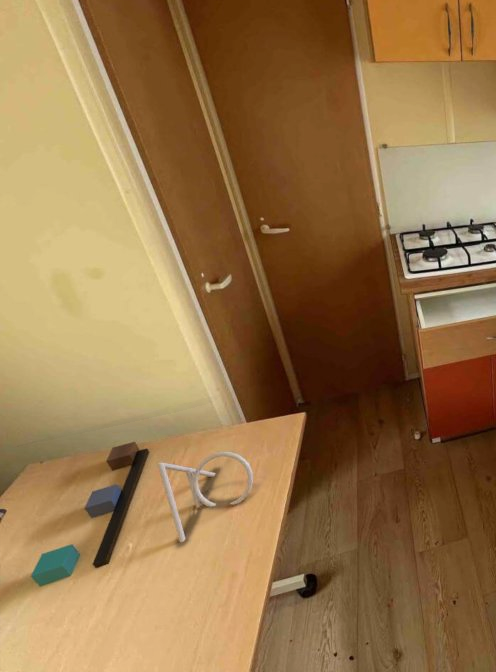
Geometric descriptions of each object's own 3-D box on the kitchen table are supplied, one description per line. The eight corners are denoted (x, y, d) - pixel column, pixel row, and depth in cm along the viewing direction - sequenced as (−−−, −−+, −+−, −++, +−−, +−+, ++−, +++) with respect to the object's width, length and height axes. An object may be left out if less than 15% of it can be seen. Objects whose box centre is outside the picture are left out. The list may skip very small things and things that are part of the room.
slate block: (93, 521, 91) (84, 508, 89) (101, 504, 95) (92, 491, 93) (119, 513, 93) (110, 500, 91) (126, 496, 97) (117, 483, 94)
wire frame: (279, 492, 103) (245, 526, 87) (224, 510, 102) (180, 548, 86) (259, 422, 103) (221, 443, 88) (204, 439, 102) (156, 463, 86)
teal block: (42, 590, 79) (30, 576, 77) (53, 567, 83) (41, 553, 81) (73, 579, 81) (62, 565, 79) (83, 557, 85) (72, 543, 82)
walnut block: (114, 474, 102) (106, 461, 100) (120, 460, 106) (112, 447, 103) (137, 467, 104) (129, 454, 102) (142, 454, 107) (135, 441, 105)
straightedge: (98, 571, 82) (92, 564, 81) (141, 457, 106) (137, 450, 105) (111, 567, 83) (105, 559, 82) (151, 455, 107) (147, 448, 106)
